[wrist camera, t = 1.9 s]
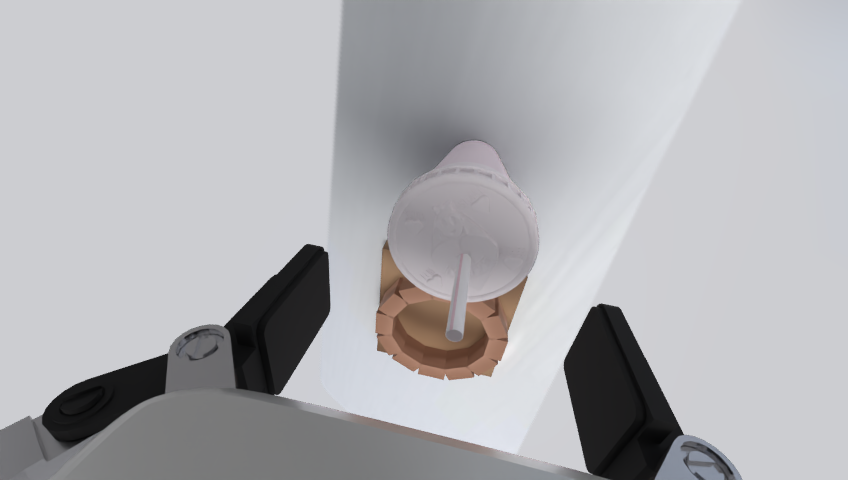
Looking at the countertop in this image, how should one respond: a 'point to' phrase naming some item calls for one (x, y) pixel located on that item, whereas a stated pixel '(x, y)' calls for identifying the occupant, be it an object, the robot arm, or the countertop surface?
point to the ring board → (440, 327)
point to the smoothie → (464, 231)
